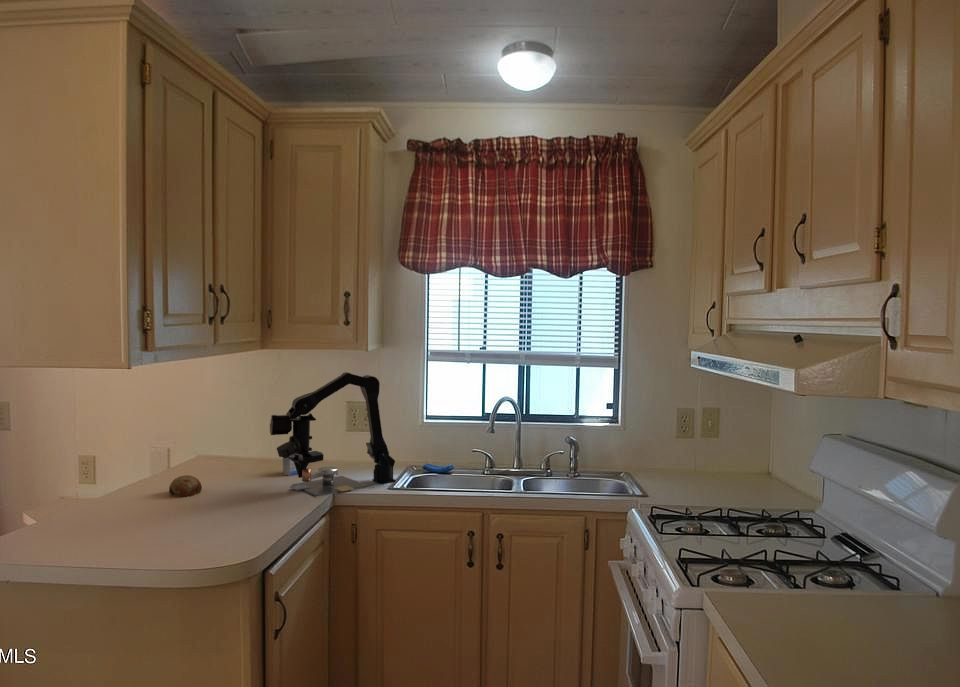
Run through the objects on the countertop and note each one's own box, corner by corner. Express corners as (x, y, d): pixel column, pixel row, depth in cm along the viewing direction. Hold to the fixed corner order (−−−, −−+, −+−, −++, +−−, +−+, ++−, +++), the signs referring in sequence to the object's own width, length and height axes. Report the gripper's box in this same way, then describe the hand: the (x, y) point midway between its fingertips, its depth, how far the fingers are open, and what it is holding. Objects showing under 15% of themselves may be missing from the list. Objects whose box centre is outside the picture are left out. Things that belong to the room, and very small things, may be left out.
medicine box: (289, 476, 234) (289, 453, 234) (282, 474, 237) (282, 452, 237) (306, 472, 241) (306, 450, 240) (299, 470, 243) (299, 449, 243)
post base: (341, 477, 234) (341, 468, 234) (369, 487, 219) (369, 478, 219) (285, 487, 219) (285, 477, 218) (311, 499, 204) (311, 488, 204)
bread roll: (167, 504, 209) (158, 485, 206) (191, 485, 217) (182, 466, 214) (186, 508, 204) (177, 489, 201) (210, 488, 212) (202, 470, 209)
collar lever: (327, 471, 228) (327, 460, 228) (342, 473, 225) (342, 462, 224) (295, 480, 214) (295, 468, 214) (311, 483, 210) (311, 471, 210)
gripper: (265, 432, 214) (264, 476, 215) (297, 441, 202) (296, 487, 203) (293, 428, 223) (292, 470, 223) (324, 436, 211) (323, 481, 212)
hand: (300, 477), depth 215 cm, fingers closed
